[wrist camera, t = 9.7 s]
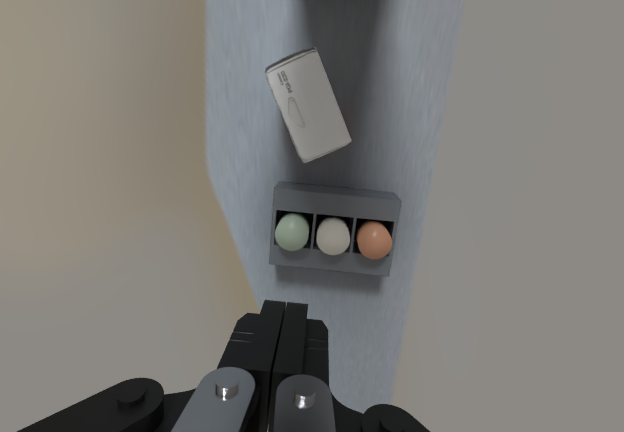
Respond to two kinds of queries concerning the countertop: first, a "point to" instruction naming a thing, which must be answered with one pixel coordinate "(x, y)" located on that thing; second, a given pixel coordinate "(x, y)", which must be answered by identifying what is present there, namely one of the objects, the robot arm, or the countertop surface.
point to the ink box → (307, 104)
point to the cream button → (333, 235)
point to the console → (334, 204)
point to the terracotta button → (373, 239)
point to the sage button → (292, 231)
